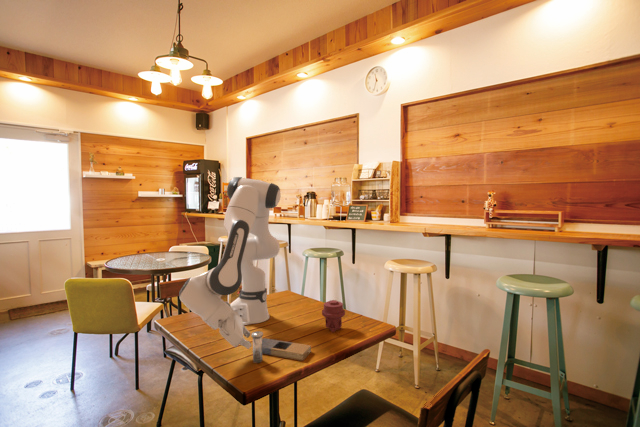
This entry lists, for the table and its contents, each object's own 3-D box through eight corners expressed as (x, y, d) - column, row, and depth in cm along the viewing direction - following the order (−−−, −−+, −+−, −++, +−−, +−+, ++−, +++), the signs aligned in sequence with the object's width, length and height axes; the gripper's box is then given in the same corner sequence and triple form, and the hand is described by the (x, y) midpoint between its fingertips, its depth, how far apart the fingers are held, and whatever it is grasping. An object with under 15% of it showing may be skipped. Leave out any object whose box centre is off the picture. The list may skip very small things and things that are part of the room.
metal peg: (249, 362, 116) (249, 334, 116) (255, 357, 120) (255, 330, 119) (259, 364, 115) (259, 336, 114) (265, 359, 118) (265, 332, 118)
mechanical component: (346, 325, 149) (343, 334, 139) (324, 324, 151) (320, 333, 141) (346, 298, 148) (343, 305, 139) (324, 297, 150) (319, 304, 141)
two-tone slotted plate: (253, 352, 124) (253, 345, 124) (264, 344, 131) (263, 338, 131) (302, 360, 117) (302, 354, 117) (310, 351, 124) (310, 345, 124)
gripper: (225, 319, 104) (257, 346, 107) (227, 300, 124) (254, 323, 126) (210, 334, 103) (243, 361, 106) (215, 313, 123) (242, 336, 126)
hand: (249, 340), depth 116 cm, fingers open, 8 cm apart
